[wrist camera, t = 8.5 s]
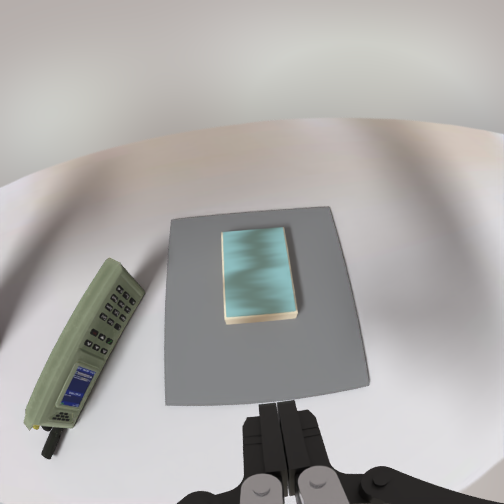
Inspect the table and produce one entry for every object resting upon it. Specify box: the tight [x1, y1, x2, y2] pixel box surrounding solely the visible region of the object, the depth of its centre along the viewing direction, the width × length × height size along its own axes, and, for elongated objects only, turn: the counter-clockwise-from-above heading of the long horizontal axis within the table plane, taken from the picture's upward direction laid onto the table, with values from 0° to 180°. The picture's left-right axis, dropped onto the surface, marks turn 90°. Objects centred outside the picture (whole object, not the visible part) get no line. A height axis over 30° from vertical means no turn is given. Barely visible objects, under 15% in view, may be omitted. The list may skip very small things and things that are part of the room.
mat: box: [164, 207, 369, 406], centre depth 30 cm, size 20×22×1 cm
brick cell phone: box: [24, 258, 145, 459], centre depth 23 cm, size 7×3×25 cm
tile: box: [221, 227, 298, 325], centre depth 30 cm, size 7×2×10 cm
